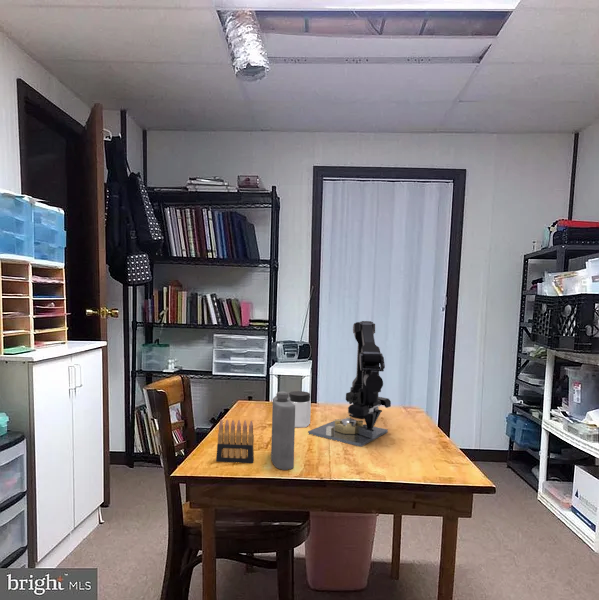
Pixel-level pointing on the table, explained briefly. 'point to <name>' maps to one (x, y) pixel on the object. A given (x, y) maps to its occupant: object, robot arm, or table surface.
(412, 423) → the table surface
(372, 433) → the ring nut
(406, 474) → the table surface
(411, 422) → the table surface
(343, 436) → the cap plate
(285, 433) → the flask
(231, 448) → the ammunition clip
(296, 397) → the jar
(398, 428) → the table surface
